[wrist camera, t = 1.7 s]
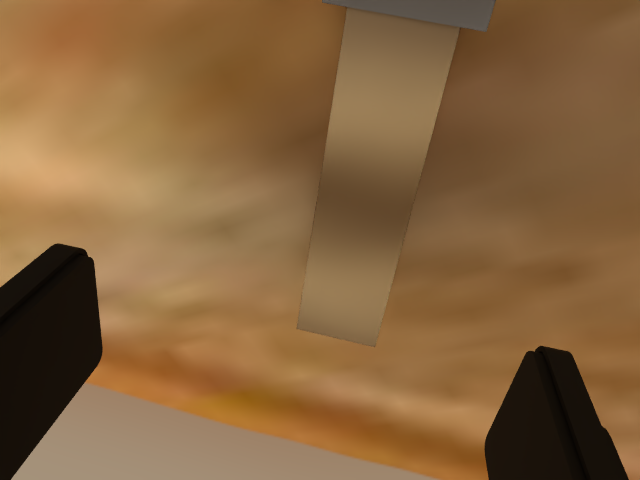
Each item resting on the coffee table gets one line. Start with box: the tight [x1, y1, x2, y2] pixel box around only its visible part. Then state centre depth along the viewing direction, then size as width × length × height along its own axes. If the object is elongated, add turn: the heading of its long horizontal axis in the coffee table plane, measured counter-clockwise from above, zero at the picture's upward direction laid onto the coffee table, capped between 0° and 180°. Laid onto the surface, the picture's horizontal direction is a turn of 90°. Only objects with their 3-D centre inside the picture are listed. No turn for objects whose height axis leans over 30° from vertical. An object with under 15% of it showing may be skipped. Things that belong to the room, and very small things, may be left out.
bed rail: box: [297, 0, 496, 347], centre depth 18 cm, size 13×4×5 cm, turn 171°
